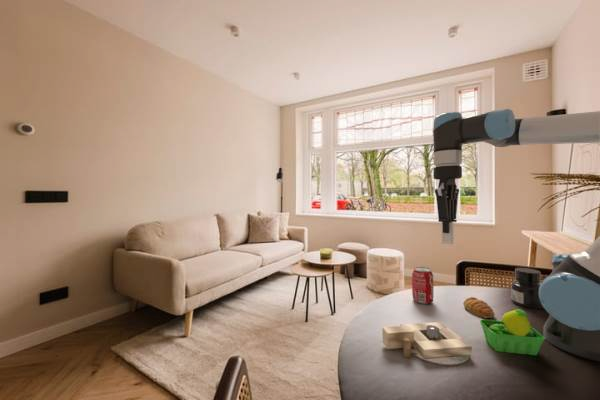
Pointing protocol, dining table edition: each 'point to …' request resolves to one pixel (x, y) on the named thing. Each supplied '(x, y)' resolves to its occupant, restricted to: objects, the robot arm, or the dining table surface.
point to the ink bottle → (526, 288)
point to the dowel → (407, 347)
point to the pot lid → (447, 360)
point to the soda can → (422, 285)
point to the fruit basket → (512, 334)
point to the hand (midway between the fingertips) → (447, 243)
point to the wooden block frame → (426, 340)
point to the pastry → (478, 307)
